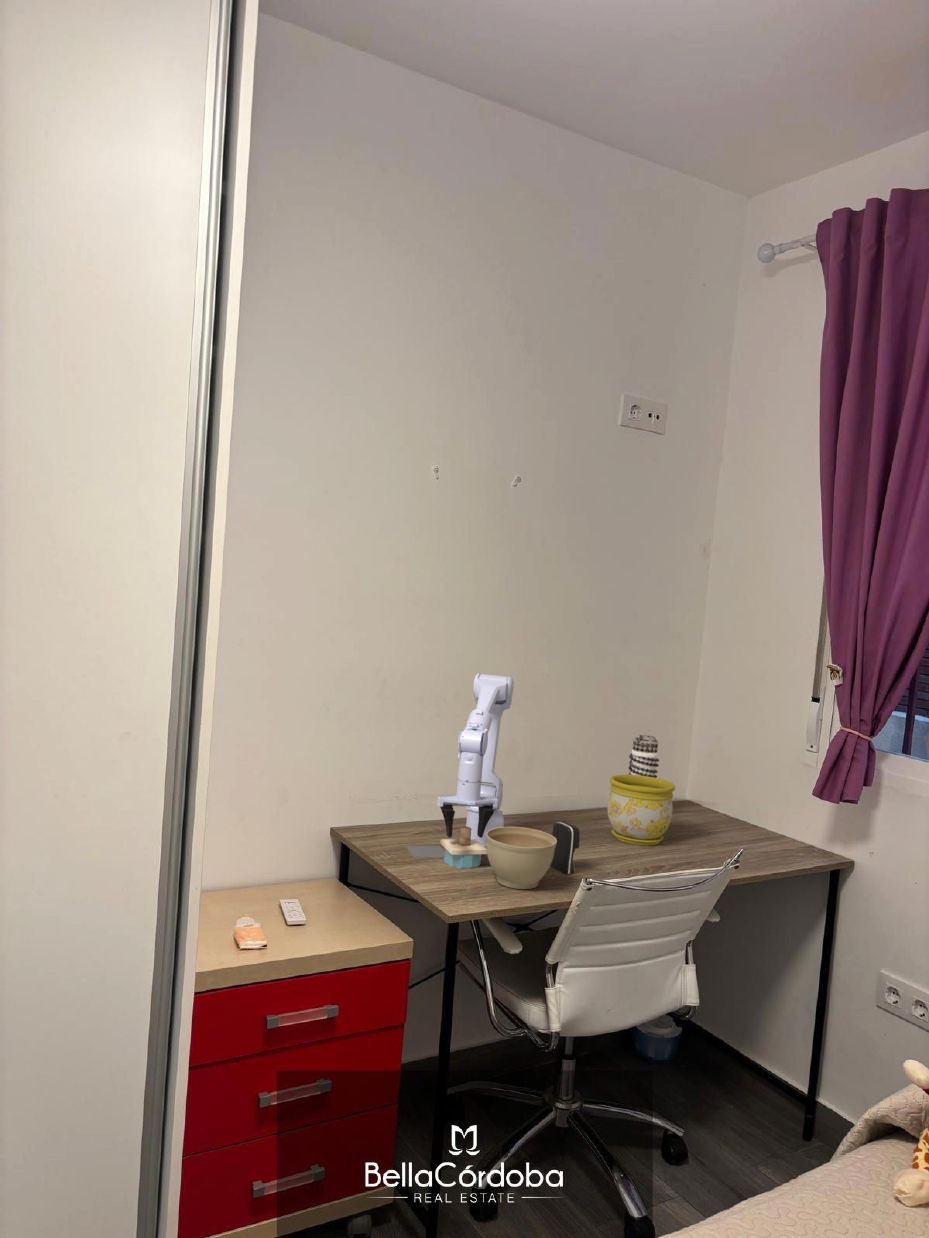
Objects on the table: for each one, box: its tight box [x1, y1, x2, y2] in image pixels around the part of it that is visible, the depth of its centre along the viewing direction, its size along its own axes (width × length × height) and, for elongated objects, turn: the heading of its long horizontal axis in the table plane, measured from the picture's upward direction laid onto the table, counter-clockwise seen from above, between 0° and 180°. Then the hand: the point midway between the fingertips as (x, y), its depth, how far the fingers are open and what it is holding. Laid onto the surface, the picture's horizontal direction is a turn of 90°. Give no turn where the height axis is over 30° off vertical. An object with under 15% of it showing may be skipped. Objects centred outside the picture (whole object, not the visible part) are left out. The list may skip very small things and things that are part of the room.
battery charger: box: [549, 821, 581, 875], centre depth 227 cm, size 7×4×11 cm, turn 32°
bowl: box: [443, 847, 482, 870], centre depth 224 cm, size 8×8×4 cm
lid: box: [439, 825, 487, 855], centre depth 224 cm, size 9×9×5 cm
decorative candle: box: [627, 734, 660, 778], centre depth 289 cm, size 9×9×25 cm
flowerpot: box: [607, 774, 676, 847], centre depth 262 cm, size 18×18×16 cm
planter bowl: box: [486, 826, 557, 890], centre depth 214 cm, size 16×16×11 cm
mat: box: [405, 845, 445, 858], centre depth 231 cm, size 9×9×1 cm
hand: (464, 836), depth 224 cm, fingers open, 7 cm apart
